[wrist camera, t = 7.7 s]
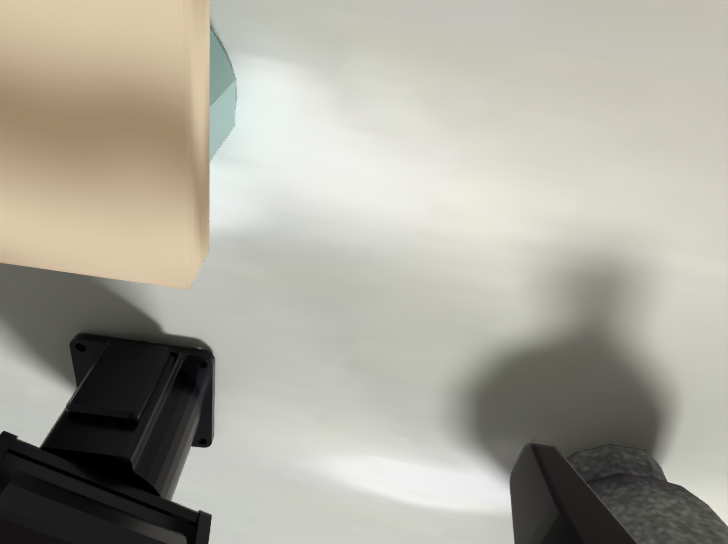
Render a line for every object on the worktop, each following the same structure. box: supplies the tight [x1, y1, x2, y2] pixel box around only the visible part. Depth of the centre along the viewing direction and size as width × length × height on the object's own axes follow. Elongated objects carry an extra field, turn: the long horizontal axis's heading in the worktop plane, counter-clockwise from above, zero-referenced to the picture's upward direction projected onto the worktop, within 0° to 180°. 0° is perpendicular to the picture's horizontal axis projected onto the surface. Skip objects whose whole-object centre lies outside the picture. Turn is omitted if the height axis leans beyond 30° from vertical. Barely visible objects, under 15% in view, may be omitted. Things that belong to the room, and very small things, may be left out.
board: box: [0, 0, 210, 290], centre depth 14 cm, size 8×6×2 cm
